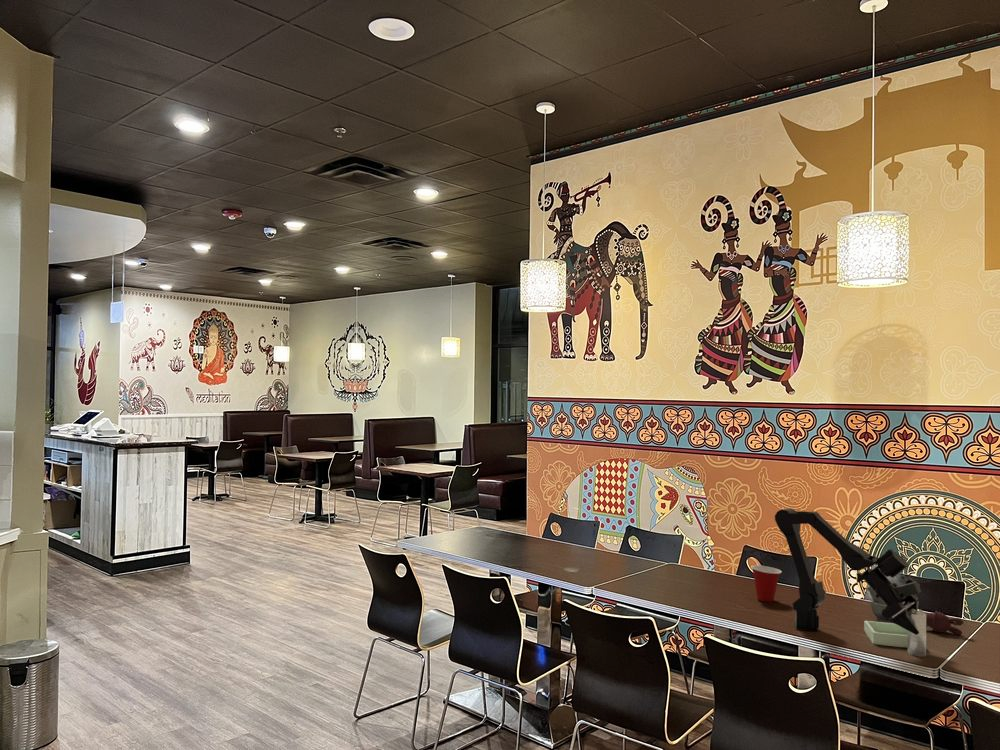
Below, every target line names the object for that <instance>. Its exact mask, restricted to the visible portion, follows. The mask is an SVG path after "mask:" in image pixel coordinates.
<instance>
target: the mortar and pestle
mask: <svg viewBox="0 0 1000 750" xmlns="http://www.w3.org/2000/svg"><path fill="white" fill-rule="evenodd" d="M866 590H867V591H868V592H869V594H870V596H871V598H872V599H870V607H871V608H870V609H871V611H872V613H873V615H874V616H875V617H876V622H883V623H892V622H890V621H889V620H891V619H892V617H891V618H890V619H888V620H887V621H886V620H885V619H884V617H883V616H882V610H884V609H885V608H886V606H887V605H886V604H885V603H884V602H883V601H882V600H881V599H880V597H879V598H877V597H876V596H875V595H877V594H876V593H875V591H873V590H872V588H871V587H870V586H869V585H867V587H866ZM893 624H894V623H893Z"/></svg>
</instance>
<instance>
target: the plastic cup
mask: <svg viewBox="0 0 1000 750" xmlns="http://www.w3.org/2000/svg"><path fill="white" fill-rule="evenodd" d="M751 569H752V573H753V579H754V586H755V592H756V598H757V600H758V601H761V602H766V603H767V602H768V603H769V602H771V601H772V602H774V599H775V596H776V595H775V594H776V591H777V588H778V587H777V586H778V581H779V577H780V576H781V574H782V570H780V569H779V568H775V567H772V566H771V567H770V566H766V565H760V564H759V565H757V564H756V565H751Z"/></svg>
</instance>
